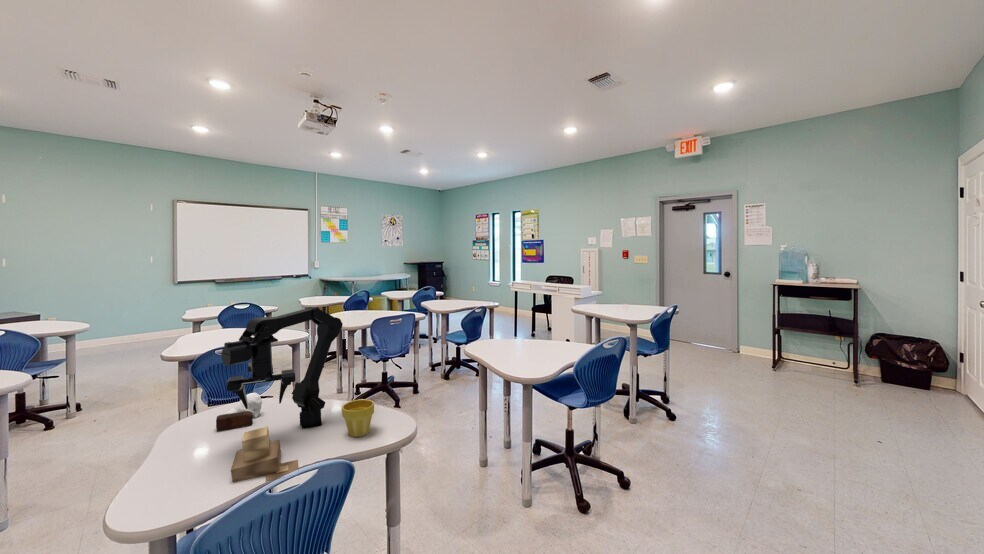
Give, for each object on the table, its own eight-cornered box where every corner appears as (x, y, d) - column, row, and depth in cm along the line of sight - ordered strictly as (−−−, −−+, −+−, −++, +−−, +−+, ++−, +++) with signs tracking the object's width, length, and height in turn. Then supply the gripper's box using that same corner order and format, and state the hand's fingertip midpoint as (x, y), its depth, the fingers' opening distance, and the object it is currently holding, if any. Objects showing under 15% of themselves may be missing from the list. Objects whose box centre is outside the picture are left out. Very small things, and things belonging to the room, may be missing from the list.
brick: (216, 432, 136) (215, 419, 136) (217, 428, 140) (216, 415, 139) (252, 426, 141) (251, 413, 141) (252, 421, 145) (252, 409, 144)
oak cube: (270, 445, 118) (267, 426, 117) (270, 454, 112) (266, 434, 112) (247, 452, 115) (244, 432, 114) (245, 462, 110) (241, 441, 109)
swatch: (297, 461, 118) (297, 458, 118) (298, 475, 111) (298, 472, 110) (266, 468, 114) (266, 465, 114) (265, 483, 107) (265, 480, 107)
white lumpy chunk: (262, 392, 149) (226, 406, 140) (265, 414, 150) (230, 428, 141) (255, 389, 153) (219, 401, 143) (258, 410, 154) (223, 423, 145)
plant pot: (347, 426, 141) (346, 399, 140) (377, 425, 142) (376, 398, 141) (338, 440, 130) (337, 411, 130) (371, 439, 131) (370, 410, 131)
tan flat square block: (281, 452, 121) (279, 439, 121) (279, 470, 111) (277, 457, 111) (239, 463, 117) (237, 450, 116) (233, 484, 107) (230, 470, 106)
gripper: (293, 348, 138) (295, 392, 139) (229, 355, 129) (232, 402, 130) (294, 356, 128) (296, 403, 129) (224, 364, 119) (227, 415, 121)
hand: (263, 405), depth 128 cm, fingers open, 9 cm apart
